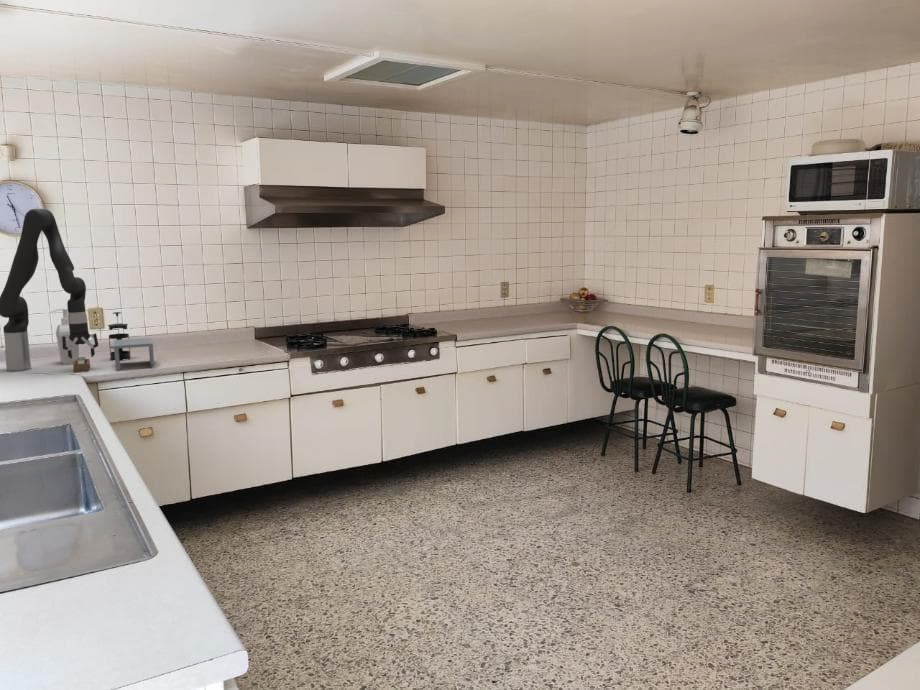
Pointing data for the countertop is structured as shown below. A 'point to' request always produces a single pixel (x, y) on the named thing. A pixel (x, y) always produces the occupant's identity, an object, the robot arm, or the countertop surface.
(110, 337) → the french press
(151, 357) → the grey small table
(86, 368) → the tray
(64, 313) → the soap bottle
